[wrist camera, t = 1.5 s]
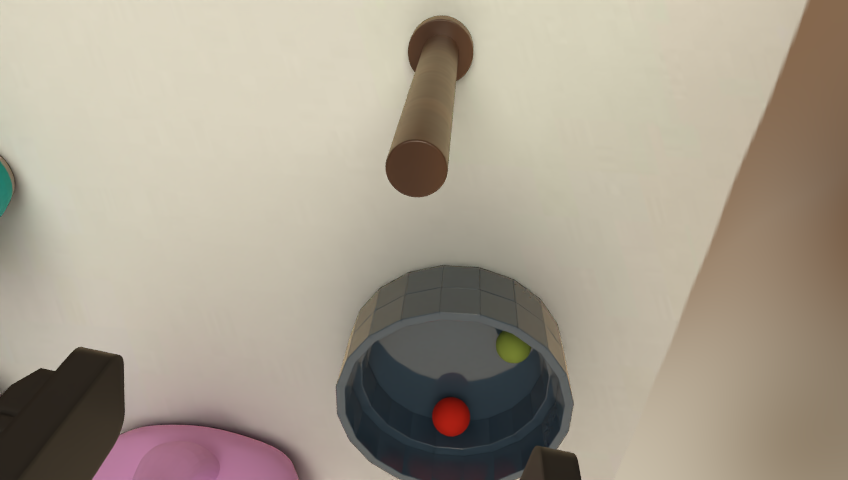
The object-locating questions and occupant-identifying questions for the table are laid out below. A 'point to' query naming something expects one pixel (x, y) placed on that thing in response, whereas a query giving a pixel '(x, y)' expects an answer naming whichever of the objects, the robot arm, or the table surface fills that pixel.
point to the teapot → (192, 456)
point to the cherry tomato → (451, 416)
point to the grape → (511, 348)
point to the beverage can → (5, 185)
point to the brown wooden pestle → (429, 106)
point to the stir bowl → (453, 376)
